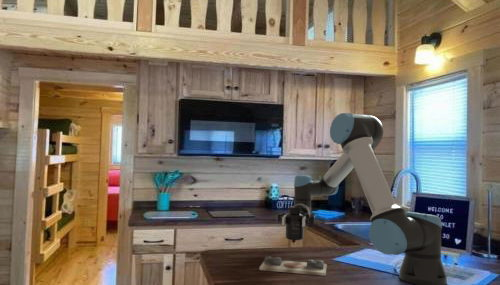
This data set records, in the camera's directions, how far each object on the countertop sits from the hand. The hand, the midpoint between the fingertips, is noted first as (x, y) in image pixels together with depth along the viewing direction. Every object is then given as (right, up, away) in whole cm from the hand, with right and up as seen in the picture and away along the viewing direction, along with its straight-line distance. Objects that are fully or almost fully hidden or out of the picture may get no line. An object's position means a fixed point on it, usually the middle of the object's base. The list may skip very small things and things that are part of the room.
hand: (293, 222), depth 144 cm
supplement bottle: (+1, -7, +5) cm, 9 cm away
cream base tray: (+1, -18, +4) cm, 19 cm away
